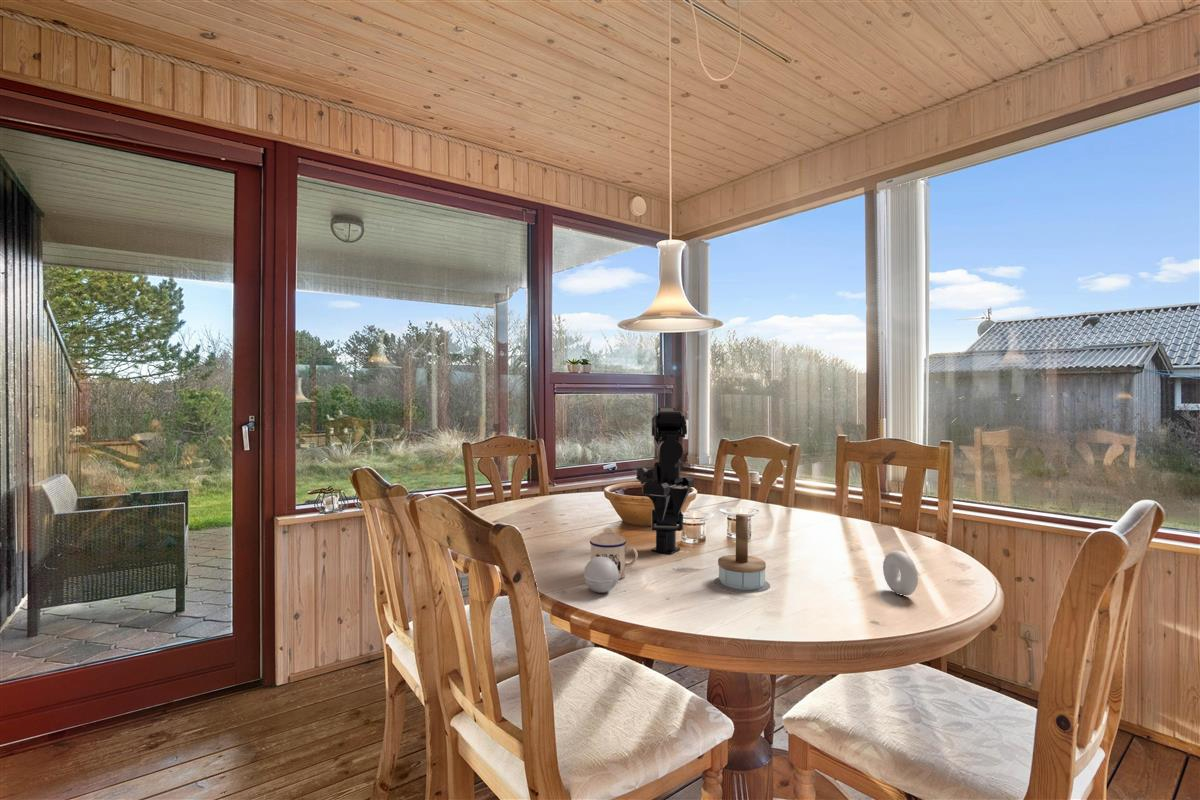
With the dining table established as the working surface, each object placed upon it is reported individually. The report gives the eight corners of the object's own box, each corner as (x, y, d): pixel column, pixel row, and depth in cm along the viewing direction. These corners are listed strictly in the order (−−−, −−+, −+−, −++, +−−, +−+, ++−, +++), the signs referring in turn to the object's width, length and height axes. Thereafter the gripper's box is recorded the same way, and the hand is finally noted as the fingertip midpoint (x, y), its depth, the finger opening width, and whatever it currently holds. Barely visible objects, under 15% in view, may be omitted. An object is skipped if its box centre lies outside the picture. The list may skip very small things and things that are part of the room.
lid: (717, 557, 141) (718, 509, 141) (763, 560, 139) (763, 511, 139) (718, 570, 130) (718, 519, 130) (767, 574, 128) (768, 521, 128)
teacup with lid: (588, 581, 137) (588, 533, 137) (590, 569, 146) (591, 524, 146) (637, 582, 137) (638, 533, 137) (637, 570, 146) (637, 525, 146)
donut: (879, 587, 133) (879, 545, 133) (893, 587, 134) (893, 545, 134) (906, 603, 123) (906, 557, 123) (921, 602, 124) (921, 556, 124)
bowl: (729, 574, 142) (729, 557, 142) (769, 581, 136) (769, 564, 136) (713, 585, 133) (713, 567, 133) (755, 593, 128) (755, 574, 128)
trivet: (725, 573, 144) (725, 571, 144) (777, 582, 136) (777, 581, 136) (705, 587, 133) (705, 585, 133) (759, 598, 126) (759, 596, 126)
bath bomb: (620, 587, 133) (620, 553, 133) (615, 598, 125) (616, 562, 125) (587, 585, 134) (587, 551, 134) (580, 596, 126) (580, 560, 126)
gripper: (658, 453, 161) (658, 508, 161) (624, 459, 146) (624, 520, 146) (694, 456, 155) (694, 513, 155) (663, 462, 139) (662, 525, 139)
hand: (668, 517), depth 149 cm, fingers open, 9 cm apart
